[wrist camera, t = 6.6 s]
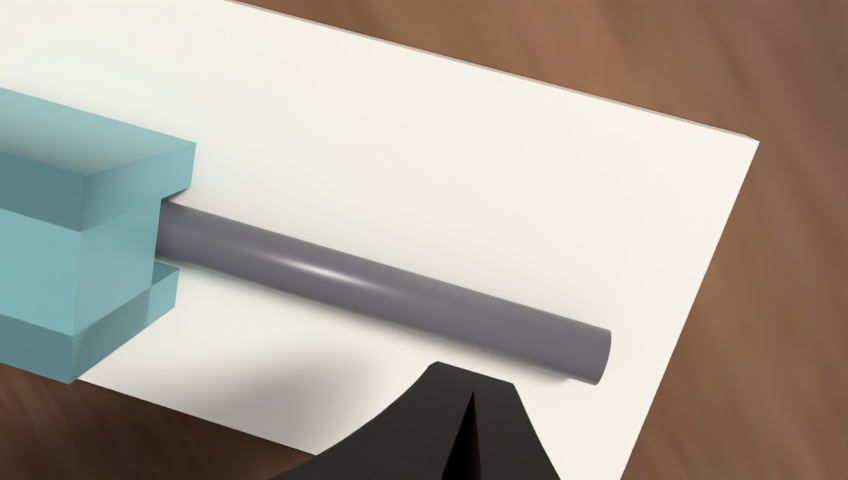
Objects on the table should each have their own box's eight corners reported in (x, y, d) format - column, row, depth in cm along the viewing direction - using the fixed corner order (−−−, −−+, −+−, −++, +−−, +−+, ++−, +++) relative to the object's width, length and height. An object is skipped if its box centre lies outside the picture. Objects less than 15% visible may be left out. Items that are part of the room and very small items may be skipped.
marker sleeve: (174, 306, 16) (69, 384, 12) (-18, 247, 16) (-174, 306, 12) (196, 143, 14) (85, 176, 11) (-14, 83, 15) (-186, 96, 11)
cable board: (590, 515, 17) (605, 653, 13) (-236, 253, 19) (-432, 307, 15) (743, 134, 14) (823, 170, 10) (-271, -133, 16) (-529, -188, 12)
